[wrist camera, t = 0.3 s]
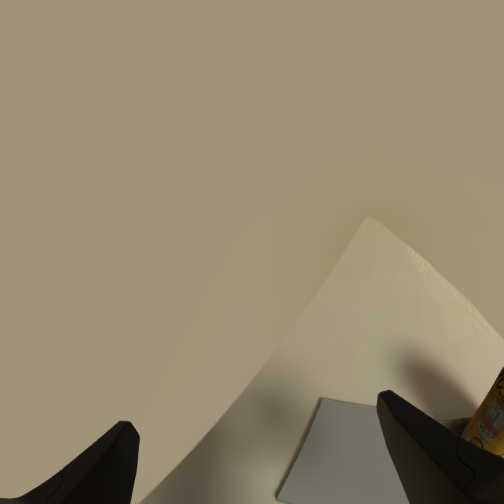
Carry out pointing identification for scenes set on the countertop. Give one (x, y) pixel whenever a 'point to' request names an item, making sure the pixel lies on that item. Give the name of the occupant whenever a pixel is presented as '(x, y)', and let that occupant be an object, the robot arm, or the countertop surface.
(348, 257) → the countertop surface
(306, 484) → the slate mat
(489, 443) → the condiment
